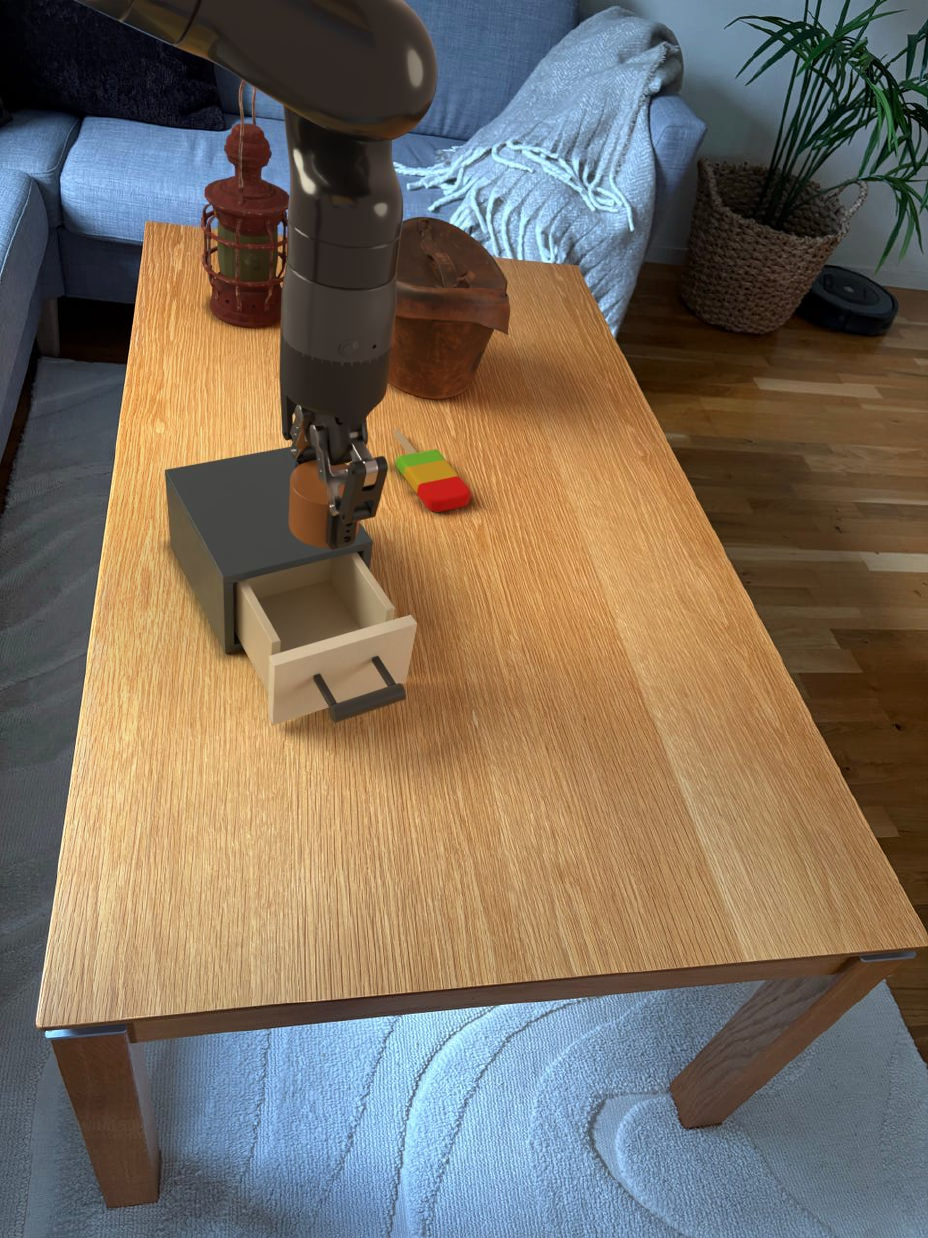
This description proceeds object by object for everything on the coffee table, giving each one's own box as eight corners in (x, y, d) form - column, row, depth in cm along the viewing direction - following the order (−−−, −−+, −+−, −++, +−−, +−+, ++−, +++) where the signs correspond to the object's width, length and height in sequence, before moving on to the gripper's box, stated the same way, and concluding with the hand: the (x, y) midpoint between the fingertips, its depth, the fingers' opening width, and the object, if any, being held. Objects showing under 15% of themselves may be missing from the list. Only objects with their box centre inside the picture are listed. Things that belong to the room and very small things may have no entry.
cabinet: (364, 614, 92) (373, 541, 85) (225, 654, 86) (223, 577, 79) (300, 517, 101) (304, 443, 94) (170, 546, 94) (164, 469, 87)
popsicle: (431, 515, 105) (433, 502, 103) (374, 440, 113) (375, 427, 112) (472, 506, 107) (475, 493, 106) (414, 433, 116) (416, 420, 114)
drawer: (431, 721, 83) (445, 663, 77) (295, 769, 77) (299, 710, 71) (340, 579, 94) (345, 520, 88) (214, 612, 88) (212, 550, 82)
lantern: (281, 338, 126) (288, 98, 105) (192, 321, 125) (180, 76, 104) (299, 297, 135) (309, 68, 114) (216, 281, 134) (210, 48, 113)
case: (454, 433, 117) (479, 301, 104) (328, 369, 122) (337, 236, 110) (521, 380, 129) (551, 255, 116) (403, 324, 134) (419, 199, 122)
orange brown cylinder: (305, 554, 71) (307, 511, 68) (277, 510, 74) (278, 466, 71) (370, 538, 74) (375, 495, 71) (340, 496, 77) (344, 453, 74)
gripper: (437, 377, 60) (406, 567, 72) (343, 272, 68) (329, 459, 80) (331, 394, 56) (316, 591, 68) (244, 282, 64) (245, 476, 76)
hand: (323, 519), depth 74 cm, fingers closed on orange brown cylinder, 5 cm apart
